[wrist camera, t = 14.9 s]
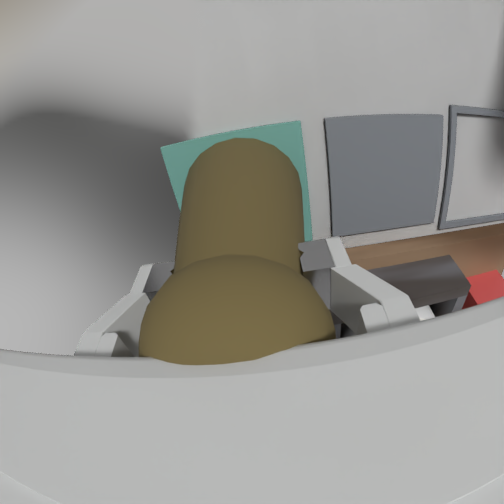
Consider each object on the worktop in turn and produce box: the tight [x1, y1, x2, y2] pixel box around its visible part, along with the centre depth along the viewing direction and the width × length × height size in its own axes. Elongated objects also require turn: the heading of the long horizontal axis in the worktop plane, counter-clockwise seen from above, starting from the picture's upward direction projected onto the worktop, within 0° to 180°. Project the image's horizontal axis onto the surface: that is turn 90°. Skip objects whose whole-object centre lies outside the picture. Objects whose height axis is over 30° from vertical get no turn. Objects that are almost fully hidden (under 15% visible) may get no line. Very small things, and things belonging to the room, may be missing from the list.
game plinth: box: [329, 223, 504, 339], centre depth 18 cm, size 11×18×4 cm, turn 100°
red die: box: [461, 269, 504, 310], centre depth 17 cm, size 4×4×4 cm
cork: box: [139, 138, 336, 365], centre depth 11 cm, size 6×6×11 cm
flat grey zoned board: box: [161, 105, 504, 241], centre depth 14 cm, size 8×23×1 cm, turn 100°
